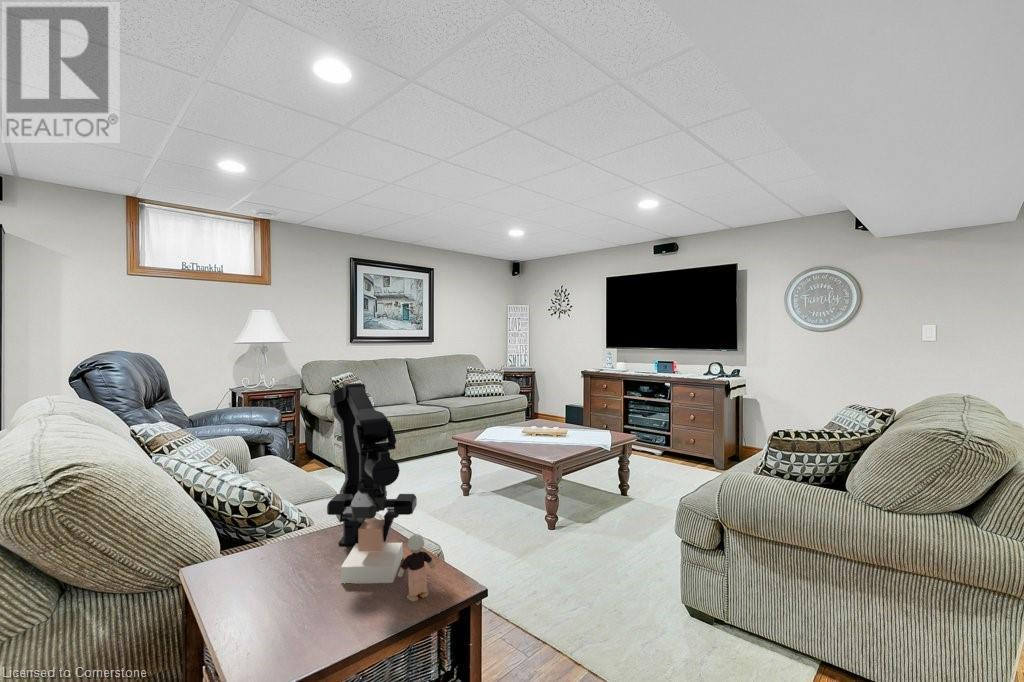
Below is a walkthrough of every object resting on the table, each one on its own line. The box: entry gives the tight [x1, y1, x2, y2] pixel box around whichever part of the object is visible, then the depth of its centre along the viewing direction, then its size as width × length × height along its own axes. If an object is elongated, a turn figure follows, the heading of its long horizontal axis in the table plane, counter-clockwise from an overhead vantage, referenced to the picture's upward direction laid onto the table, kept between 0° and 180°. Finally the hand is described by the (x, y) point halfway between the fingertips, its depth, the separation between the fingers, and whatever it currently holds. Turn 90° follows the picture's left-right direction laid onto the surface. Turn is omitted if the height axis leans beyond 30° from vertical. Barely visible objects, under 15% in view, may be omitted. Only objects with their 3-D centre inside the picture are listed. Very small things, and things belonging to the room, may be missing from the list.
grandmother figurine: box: [397, 533, 436, 603], centre depth 96 cm, size 8×4×13 cm, turn 135°
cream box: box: [340, 542, 404, 585], centre depth 106 cm, size 11×11×4 cm
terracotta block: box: [358, 519, 388, 551], centre depth 106 cm, size 5×5×5 cm
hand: (373, 541), depth 106 cm, fingers closed on terracotta block, 5 cm apart
